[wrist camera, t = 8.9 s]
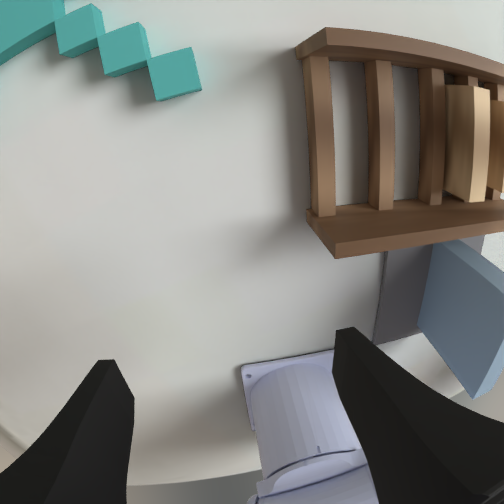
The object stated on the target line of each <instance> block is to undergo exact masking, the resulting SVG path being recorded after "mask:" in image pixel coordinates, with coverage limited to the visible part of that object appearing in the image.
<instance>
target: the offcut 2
mask: <svg viewBox="0 0 504 504" xmlns="http://www.w3.org/2000/svg"><path fill="white" fill-rule="evenodd" d="M486 186H488V187H490V188H492V189H495V190H497V191H499V192H501V193H504V102H503V101H496V100H490V144H489V161H488V173H487V183H486Z"/></svg>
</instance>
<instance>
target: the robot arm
mask: <svg viewBox="0 0 504 504" xmlns="http://www.w3.org/2000/svg"><path fill="white" fill-rule="evenodd" d="M247 374H250V375H247ZM241 375H242V381H243V386H244V392H245V397H246V403H247V408H248V414H249V419H250V424H251V429H252V430H253V431H256V436H257V442H258V448H259V454H260V460H261V466H262V472H263V478H264V480H262V481H259V482H257V483H256V484H257V490H258V494H257V495H253V496H251V497H250V498H249V500H248V502H247V504H504V423H503V422H500V421H497V420H494V419H491V418H488V417H485V416H483V415H480V414H478V413H476V412H474V411H472V410H470V409H467V408H465V407H463V406H461V405H459V404H457V403H455V402H453V401H452V400H450V399H448V398H446V397H445V396H443V395H441V394H440V393H438V392H436V391H434V390H433V389H431V388H430V387H428V386H427V385H425V384H424V383H422V382H421V381H420V380H418V379H417V378H415V377H414V376H413V375H411V374H410V373H409V372H407V371H406V370H405V369H403V368H402V367H401V366H400V365H398V364H397V363H396V362H395V361H393V360H392V359H391V358H390V357H388V356H387V355H386V354H385V353H384V352H383V351H381V350H380V349H379V348H378V347H377V346H376V345H374V344H373V343H372V342H371V341H370V340H369V339H368V338H366V337H365V336H364V335H363V334H362V333H361V332H359V331H358V330H357V329H356V328H355V327H350V328H345V329H341V330H336V338H335V347H334V349H333V350H328V351H324V352H319V353H314V354H308V355H303V356H298V357H292V358H287V359H281V360H275V361H268V362H262V363H255V364H249V365H244V366H242V368H241ZM134 399H135V398H134V396H133V394H132V392H131V391H130V389H129V387H128V385H127V383H126V381H125V379H124V378H123V376H122V374H121V372H120V370H119V368H118V366H117V364H116V362H115V360H114V359H112V360H98V361H97V362H96V364H95V365H94V366H93V368H92V369H91V370H90V372H89V373H88V374H87V376H86V377H85V379H84V380H83V381H82V383H81V384H80V385H79V387H78V388H77V390H76V391H75V392H74V394H73V395H72V396H71V398H70V399H69V400H68V402H67V403H66V405H65V406H64V407H63V409H62V410H61V411H60V412H59V414H58V415H57V416H56V417H55V419H54V420H53V421H52V422H51V424H50V425H49V426H48V427H47V429H46V430H45V431H44V432H43V433H42V434H41V436H40V437H39V438H38V439H37V440H36V441H35V442H34V443H33V444H32V445H31V446H30V447H29V448H28V449H27V450H26V451H25V452H24V453H23V454H22V455H21V456H20V457H19V458H18V459H17V460H15V462H13V463H12V464H11V465H10V466H9V467H8V468H7V469H5V470H4V471H3V472H1V473H0V504H126V503H127V502H126V484H127V472H128V464H129V457H130V449H131V442H132V435H133V428H134ZM359 442H360V443H359ZM360 445H361V446H360ZM361 447H362V448H361Z"/></svg>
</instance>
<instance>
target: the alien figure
mask: <svg viewBox="0 0 504 504" xmlns="http://www.w3.org/2000/svg"><path fill="white" fill-rule="evenodd" d="M54 33H56V35H57V42H58V48H59V54H60V55H64V56H67V57H71V58H74V57H76V56H78V55H80V54H83V53H85V52H87V51H89V50H92V49H94V48H96V47H99V50H100V55H101V60H102V65H103V69H104V74H105V75H108V76H112V77H117V76H120V75H123V74H125V73H128V72H131V71H134V70H137V69H140V68H143V67H146V66H148V68H149V73H150V77H151V81H152V85H153V89H154V93H155V97H156V100H157V101H164V100H167V99H171V98H174V97H178V96H182V95H185V94H189V93H193V92H197V91H201V90H202V88H201V84H200V79H199V75H198V71H197V67H196V63H195V58H194V54H193V51H192V48H191V47H189V48H185V49H181V50H178V51H174V52H170V53H167V54H163V55H160V56H157V57H154V58H151V54H150V49H149V45H148V40H147V36H146V31H145V29H144V28H143V27H142V25H141V24H140V23H139V22H136V23H133V24H131V25H128V26H125V27H122V28H119V29H117V30H114V31H111V32H109V33H106V34H105V28H104V23H103V17H102V12H101V11H100V10H99V9H98V8H96V7H95V6H94V5H93V4H89V5H86V6H84V7H82V8H80V9H77V10H75V11H73V12H71V13H69V14H67V15H65V7H64V0H0V65H2V64H3V63H5V62H6V61H8V60H9V59H11V58H12V57H14V56H16V55H17V54H19V53H20V52H22V51H24V50H25V49H27V48H29V47H30V46H32V45H34V44H36V43H37V42H39V41H41V40H43V39H44V38H46V37H48V36H50V35H52V34H54Z"/></svg>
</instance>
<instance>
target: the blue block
mask: <svg viewBox="0 0 504 504" xmlns="http://www.w3.org/2000/svg"><path fill="white" fill-rule="evenodd" d="M417 326H418V327H419V329H420V330H421V331H422V332H423V334H424V335H425V336H426V337H427V339H428V340H429V341H430V343H431V344H432V345H433V346H434V348H435V349H436V350H437V352H438V353H439V354H440V356H441V357H442V358H443V360H444V361H445V362H446V364H447V365H448V366H449V368H450V369H451V370H452V372H453V373H454V374H455V376H456V377H457V379H458V380H459V381H460V383H461V384H462V386H463V387H464V388H465V390H466V391H467V393H468V394H469V395H470V397H471V398H472V399H475V398H477V397H479V396H481V395H483V394H485V393H486V392H488V391H490V390H491V389H492V388H493V386H494V384H495V383H496V381H497V379H498V377H499V375H500V374H501V372H502V370H503V368H504V272H503V271H502V270H500V269H499V268H498V267H496V266H495V265H494V264H492V263H491V262H490V261H489V260H487V259H486V258H484V257H483V256H482V255H480V254H479V253H478V252H476V251H475V250H474V249H472V248H471V247H469V246H468V245H466V244H465V243H464V242H462V241H461V240H459V239H457V240H451V241H445V242H439V243H433V249H432V255H431V261H430V267H429V272H428V277H427V282H426V287H425V292H424V297H423V301H422V305H421V310H420V314H419V318H418V322H417Z"/></svg>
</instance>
